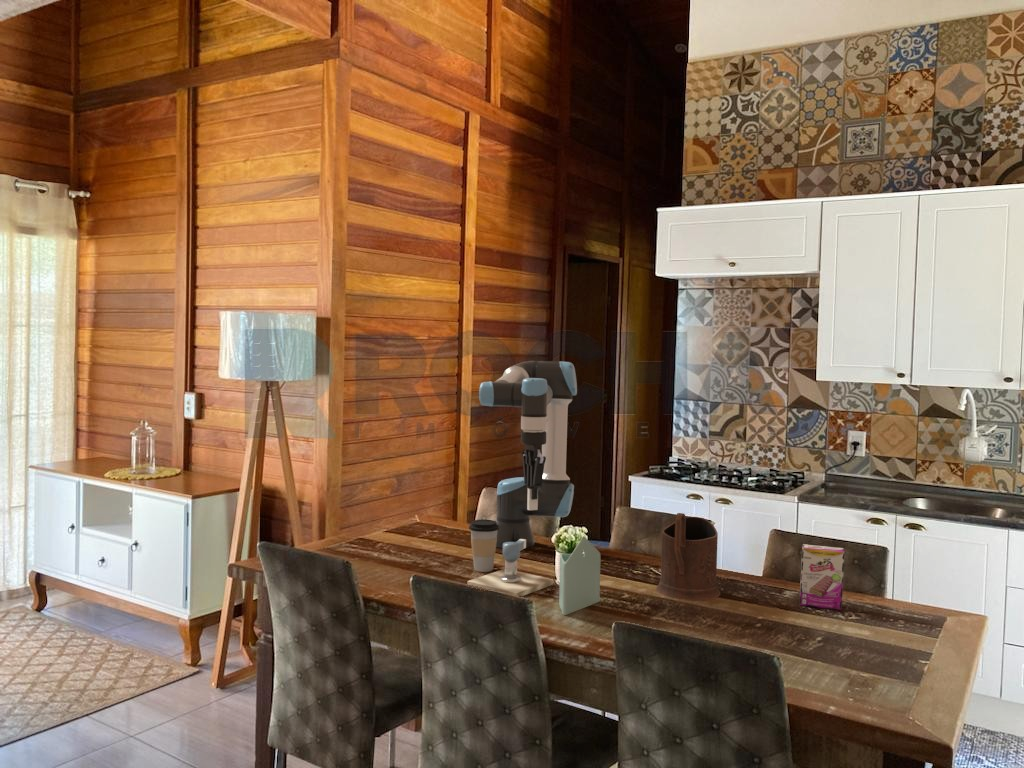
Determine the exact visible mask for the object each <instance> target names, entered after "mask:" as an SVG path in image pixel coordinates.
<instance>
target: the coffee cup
mask: <svg viewBox="0 0 1024 768" xmlns="http://www.w3.org/2000/svg"><path fill="white" fill-rule="evenodd" d="M468 529H469V530H470V541H471V543H470V545H471V554H472V560H473V570H474V571H475V572H481V573H482V572H483V573H487V572H492V571H493V570H494V563H495V556H496V550H497V547H496V543H497V530H498V529H499V526H498V525H497V520H492V519H486V518H485V519H475V520H474V519H473V520H471V522H470V524H469V526H468Z"/></svg>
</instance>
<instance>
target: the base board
mask: <svg viewBox="0 0 1024 768" xmlns="http://www.w3.org/2000/svg"><path fill="white" fill-rule="evenodd" d="M503 575H505V568H504V569H500V570H497V571H494V572H491V573H488V574H485V575H481V576H479V577H475V578H472V579H469V580H467V582H466V583H467V584H468V585H473V586H478V587H482V588H486V589H492V590H497V591H502V592H506V593H510V594H513V595H518V596H521V597H525V596H526V595H528V594H529V595H530V594H532V593H535V592H537V591H540V590H543V589H545V588H548V587H550V586H553V585H554V579H552V578H549V577H544V576H540V575H536V574H531V573H526V572H522V571H518V570H517V576H520V577H521V581H520V582H518V583H505V582H502V581H501V580H500V577H501V576H503Z"/></svg>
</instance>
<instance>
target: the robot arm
mask: <svg viewBox="0 0 1024 768" xmlns="http://www.w3.org/2000/svg"><path fill="white" fill-rule="evenodd" d="M577 381H578V380H577V375H576V368H575V366H574V364H573V363H572V362H570V361H561V360H560V361H559V360H558V361H556V360H548V361H547V360H545V361H544V360H528V361H521V362H520V363H516V364H513V365H512V366H509V367H508V368H506V369H505V370H504V372H503V374H502V376H501V377H499V378H497V379H496V380H495V381H483V382H481V383H480V384H479V385H480V386H479V390H478V398H479V399H478V400H479V402H480V403H479V404H481V406H485V407H491V408H492V407H512V408H521V415H520V429H521V430H522V431H520V443H521V444H522V445H525V448H524V450H523V451H521V453H520V454H521V458H522V470H523V477H522V476H521V477H517V476H516V477H511V478H506V479H501V481H499V482H498V484H497V487H496V488H497V489H496V491H497V492H496V522H497V525H498V526H499V529H498V530H497V543H496V548H498V549H503V543H505V542H516V541H518V540H519V539H526V548H525V549H528V548H532V547H534V546H535V537H534V533H533V530H532V527H531V519H530V518H531V517H547V518H548V517H549V518H565V517H568V516H569V514H570V512H571V509H572V505H573V499H574V494H575V491H574V490H575V485H574V484H573V483H571V478H570V477H569V476H568V474H567V445H568V443H567V442H568V440H567V439H568V412H569V410H568V408H569V404H570V403H572V401H573V396H577V394H578V383H577Z"/></svg>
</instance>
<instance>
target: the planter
mask: <svg viewBox="0 0 1024 768" xmlns="http://www.w3.org/2000/svg"><path fill="white" fill-rule="evenodd" d="M600 588H601V552H600V551H599V550H598V549H597V548H596V547H595V546H594V545H593V544H592V543H591V542H590V540H588V538H587V537H586V536H584V535H582V537H581V539H580V540H579V542H578V543H577V544H576V547H575V548H574V550H573V551H572V553H561V554H560V555H559V595H558V596H559V597H558V599H559V600H558V603H559V604H558V606H559V608H560V610H561V613H562V615H563V616H567V615H570V614H572V613H575V612H577V611H579V610H582V609H585V608H587V607H590V606H592V605H595V604H597V603H600V600H601V597H600V594H601V590H600Z"/></svg>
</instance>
